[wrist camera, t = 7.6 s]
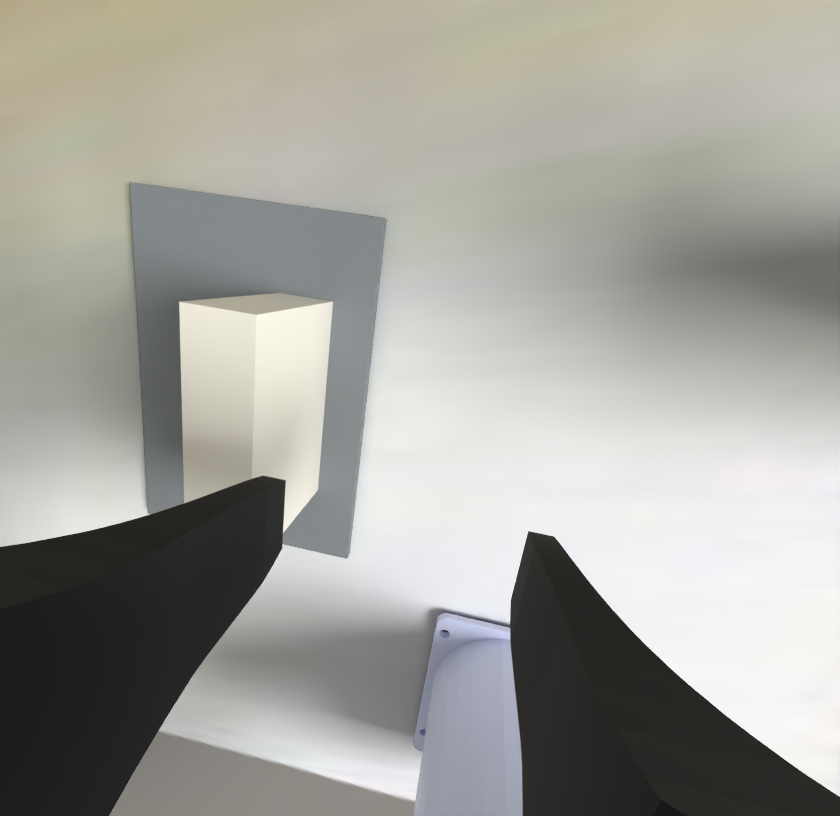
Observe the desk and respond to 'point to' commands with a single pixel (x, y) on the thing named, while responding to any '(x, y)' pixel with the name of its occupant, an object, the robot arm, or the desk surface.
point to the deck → (254, 393)
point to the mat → (253, 275)
